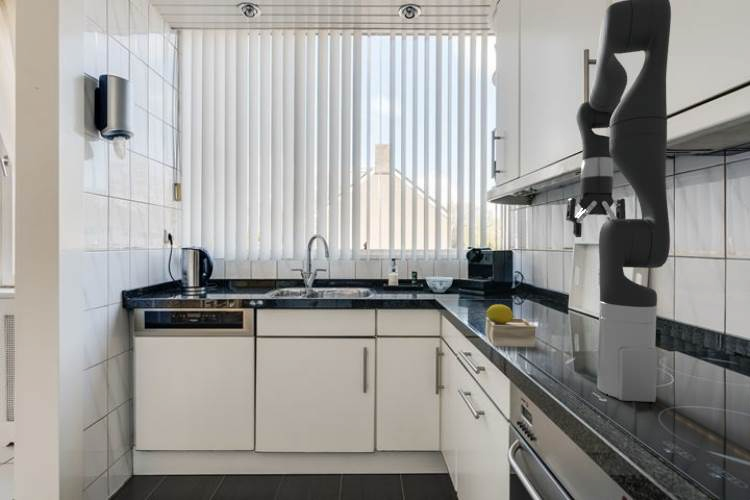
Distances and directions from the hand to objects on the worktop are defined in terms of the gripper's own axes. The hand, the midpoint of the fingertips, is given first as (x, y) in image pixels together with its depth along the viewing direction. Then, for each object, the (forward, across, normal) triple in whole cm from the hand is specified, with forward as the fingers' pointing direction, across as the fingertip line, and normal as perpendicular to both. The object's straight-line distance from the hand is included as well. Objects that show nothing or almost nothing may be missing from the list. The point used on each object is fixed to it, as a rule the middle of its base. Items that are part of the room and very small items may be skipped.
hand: (594, 237), depth 108 cm
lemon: (+23, -19, +6) cm, 30 cm away
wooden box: (+30, -20, +6) cm, 37 cm away
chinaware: (+30, -32, +115) cm, 123 cm away
